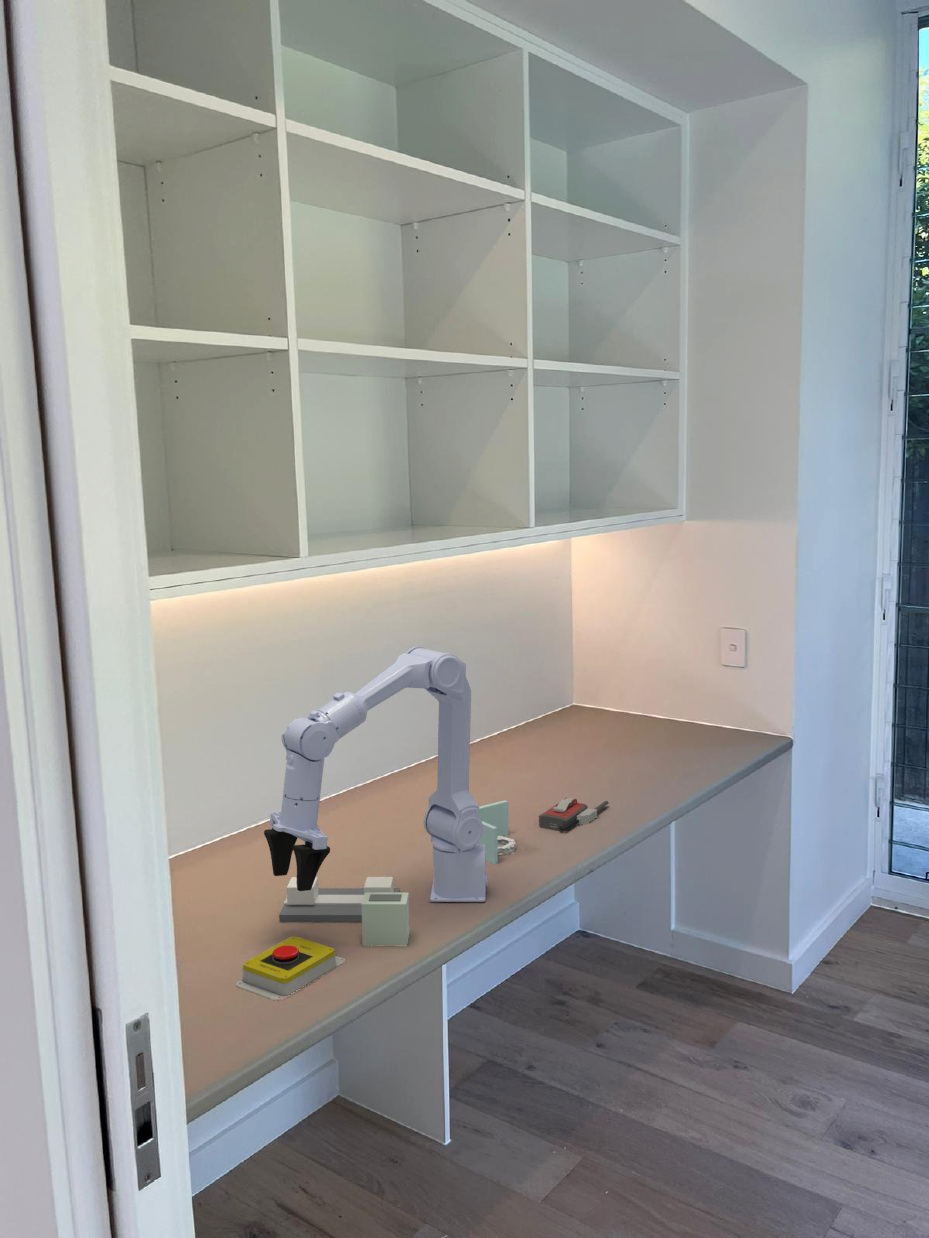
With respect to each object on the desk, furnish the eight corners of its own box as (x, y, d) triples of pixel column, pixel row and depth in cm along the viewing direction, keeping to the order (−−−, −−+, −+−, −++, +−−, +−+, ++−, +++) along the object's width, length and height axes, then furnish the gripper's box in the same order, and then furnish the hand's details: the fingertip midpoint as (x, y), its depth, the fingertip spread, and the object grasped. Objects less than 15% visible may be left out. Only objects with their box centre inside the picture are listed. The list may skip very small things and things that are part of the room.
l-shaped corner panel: (494, 867, 199) (493, 828, 198) (457, 848, 208) (456, 812, 207) (543, 852, 206) (542, 815, 205) (505, 835, 215) (504, 800, 214)
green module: (409, 933, 170) (408, 891, 169) (407, 946, 166) (406, 903, 165) (366, 933, 170) (365, 891, 169) (362, 946, 166) (361, 903, 165)
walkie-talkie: (573, 837, 213) (611, 809, 230) (573, 816, 212) (611, 789, 229) (534, 830, 217) (574, 803, 235) (534, 810, 217) (574, 783, 234)
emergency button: (231, 960, 154) (301, 922, 166) (232, 988, 154) (303, 948, 166) (277, 976, 148) (347, 936, 161) (279, 1005, 149) (348, 963, 161)
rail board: (400, 894, 185) (399, 869, 185) (393, 921, 174) (393, 895, 174) (292, 894, 186) (291, 869, 185) (279, 921, 175) (278, 895, 174)
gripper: (256, 786, 167) (247, 870, 168) (302, 809, 156) (292, 899, 156) (295, 784, 172) (286, 867, 172) (342, 806, 160) (333, 894, 161)
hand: (291, 882), depth 165 cm, fingers open, 7 cm apart
